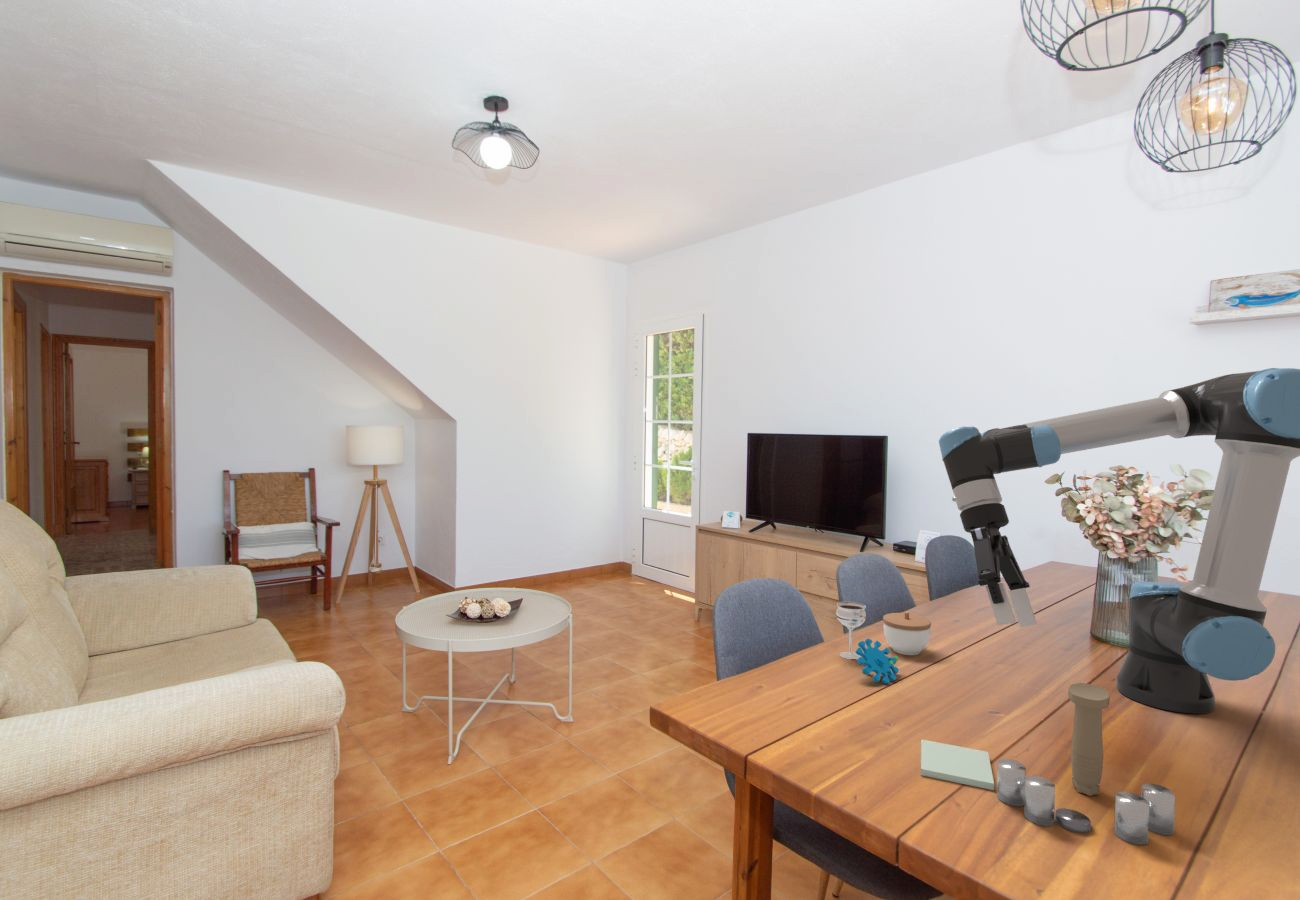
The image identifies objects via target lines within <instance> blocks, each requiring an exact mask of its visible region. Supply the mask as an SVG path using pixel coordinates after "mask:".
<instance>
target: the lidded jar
mask: <svg viewBox="0 0 1300 900" xmlns="http://www.w3.org/2000/svg"><path fill="white" fill-rule="evenodd" d="M882 621H883V633H884V639H885V640H886V642H887V644H888V645H889V647H891V648H892V650H893V652H895V653H897V654H900V655H904V656H918V655H919V654H920V653H921V652H922V651H923V650H925V648H926V647H927V645H928V643H930V642H929V641H930V638H931V637H930V636H931V627H932V621H931V620H930V619H928V618H927V617H924V616H922V615H918V614H914V613H910V612H909V611H904V612H890V613H886V614H884V615H883V617H882Z"/></svg>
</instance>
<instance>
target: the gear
mask: <svg viewBox="0 0 1300 900" xmlns="http://www.w3.org/2000/svg"><path fill="white" fill-rule="evenodd" d="M872 643H873V640H872V639H870V638H866V639H865V640H864V641H863V640H861V641H860V642H858V643H857V645H858V648H856V649H855V652H854V653H856V654H858V655H860V656H861V657H859V658H858V659H856V661H857V663H858V665H860V666H861V665H864V666H865V667H863V668H862V669H861V672H862V673H863V674H865V675H867V676H868V675H869V674H872V673H871V672H874V673H875V675H873V676H872V680H873V681H874V682H875V683H878V682H880V680H881V675H882V677H883V678H882V680H881V682H882V683H883V684H884V685H888V684H890V683H891V682H894V681H895V680H896V679H897V676H896V675H897V674H898V673H899V668H898V667H897V666H894V665H895V664H896V663H897V662H898V661H899V660H900V658H899V656H898V655H895V656H892V657H889V656H888V655H889V654H891V650H890V649H889V648H888V647H885V648H884V649H881V650H880V649H879V648H880V647H882V643H881V642H880V641H878V640H876V641H874V643H873V646H872V645H871V644H872Z"/></svg>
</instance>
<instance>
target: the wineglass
mask: <svg viewBox="0 0 1300 900" xmlns="http://www.w3.org/2000/svg"><path fill="white" fill-rule="evenodd" d="M836 606H837V609H836V611H835V616H836V618H837V621H838V622H839V623H841V625H843V626H844V627H846V628H847V630H848V634H849V635H848V636H849V637H848V640H849V641H848V642H849V643H848V645H849V646H848V647H849V651H843V652H839V656H840V657H841V658H843V659H845V658H846V660H851V659H856V660H857V659H858V658H859V657H862V656H860V655H858V654H856V653H855V652H853V651H852V647H853V645H852V644H853V630H855V628H858V627H860V626H861V625H863V624H864V622H865V621H866V617H867V613H866V611H865V610H866V609H867V606H866V605H865V604H863V603H861V602H856V601H840V602H837V603H836Z"/></svg>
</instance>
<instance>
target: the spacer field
mask: <svg viewBox="0 0 1300 900" xmlns="http://www.w3.org/2000/svg"><path fill="white" fill-rule="evenodd" d="M1026 772H1027V769H1026V766H1025V765H1024V764H1023V763H1020V761H1017V760H1013V759H1008V758H1001V759H999V760H998V761H997V782H996V783H997V785H996V787H997V788H996V796H997V799H998V800H999V801H1001V803H1003V804H1006V805H1008V806H1010V807H1011V806H1012V807H1023V806H1024V808H1023V810H1024V811H1023V815H1024V817H1025V819H1027V820H1028V821H1029V822H1030V823H1033V824H1035V825H1038V826H1041V827H1052V826H1054V824H1055V810H1056V809H1055V806H1056V805H1055V802H1056V800H1055V799H1056V798H1055V797H1056V785H1055V784H1054V783H1053V782H1052V781H1051V780H1049V779H1047V778H1045V777H1042V776H1038V775H1027V776H1026V774H1027V773H1026ZM1140 792H1141V795H1139V794H1135V793H1132V792H1128V791H1118V792H1116V793H1115V801H1114V802H1115V806H1114V807H1115V808H1114V810H1115V813H1114V834H1115V835H1116V836H1117V837H1118V838H1119V839H1121V840H1122V841H1124V842H1126V843H1129V844H1132V845H1136V846H1146V845H1147V844H1148V843H1149V831H1150V832H1152V833H1155V834H1157V835H1159V836H1160V835H1161V836H1172V835H1174V833H1175V812H1176V811H1175V809H1176V808H1175V807H1176V794H1175V793H1174V792H1173V791H1172V790H1171V789H1168V788H1166V787H1164V786H1162V785H1158V784H1157V783H1156V784H1154V783H1143V784H1142V785H1141V791H1140Z"/></svg>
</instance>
